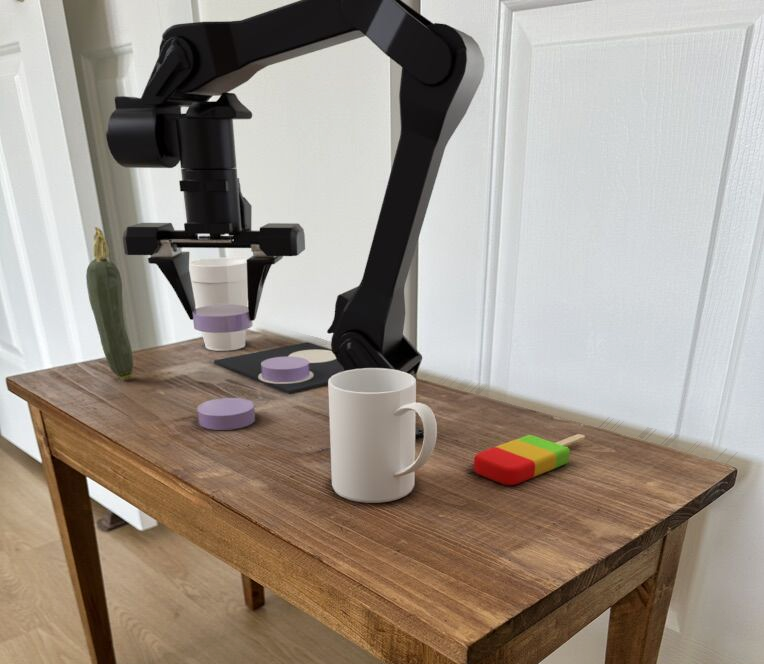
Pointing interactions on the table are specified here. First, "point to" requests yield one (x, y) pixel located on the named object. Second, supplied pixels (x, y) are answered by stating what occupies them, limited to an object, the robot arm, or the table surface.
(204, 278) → the foam cup
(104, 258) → the vegetable
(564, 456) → the popsicle
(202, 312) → the purple puck
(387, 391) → the mug
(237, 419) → the purple flat disc
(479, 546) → the table surface
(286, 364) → the purple round puck
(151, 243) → the robot arm
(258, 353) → the place mat
